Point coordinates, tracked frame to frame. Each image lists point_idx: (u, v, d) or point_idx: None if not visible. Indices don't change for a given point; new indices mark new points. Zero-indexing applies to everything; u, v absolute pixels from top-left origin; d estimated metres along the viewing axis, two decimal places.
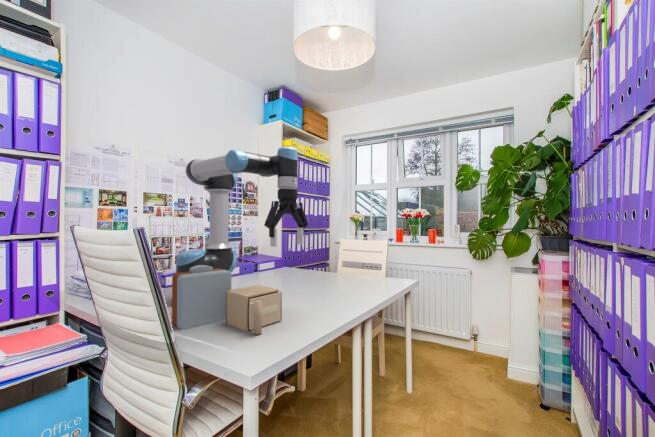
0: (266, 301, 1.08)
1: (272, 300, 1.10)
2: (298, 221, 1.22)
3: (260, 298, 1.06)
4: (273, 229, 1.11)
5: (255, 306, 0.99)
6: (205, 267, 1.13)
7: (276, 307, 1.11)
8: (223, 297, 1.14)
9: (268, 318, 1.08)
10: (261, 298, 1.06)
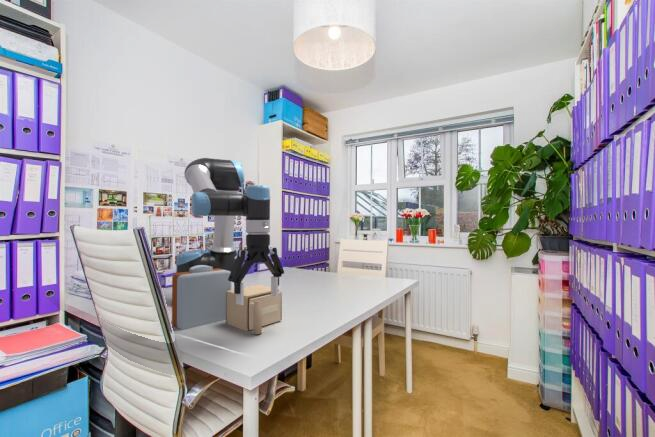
0: (266, 301, 1.08)
1: (272, 300, 1.10)
2: (272, 269, 1.04)
3: (260, 298, 1.06)
4: (239, 284, 0.94)
5: (255, 306, 0.99)
6: (205, 267, 1.13)
7: (276, 307, 1.11)
8: (223, 297, 1.14)
9: (268, 318, 1.08)
10: (261, 298, 1.06)
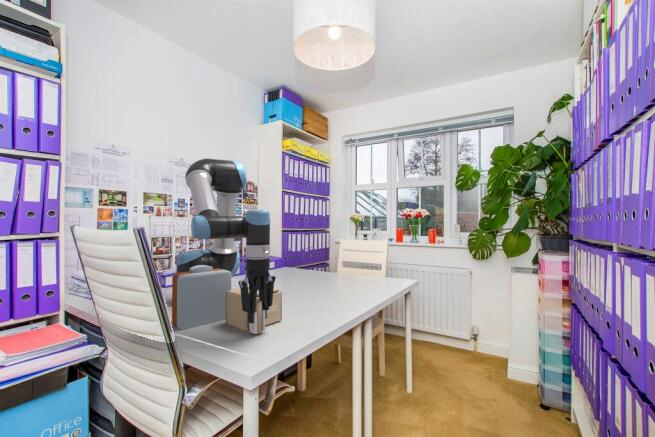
0: None
1: None
2: (262, 299, 1.01)
3: None
4: (252, 314, 0.98)
5: (255, 306, 0.99)
6: (205, 267, 1.13)
7: (276, 307, 1.11)
8: (223, 297, 1.14)
9: (268, 318, 1.08)
10: None
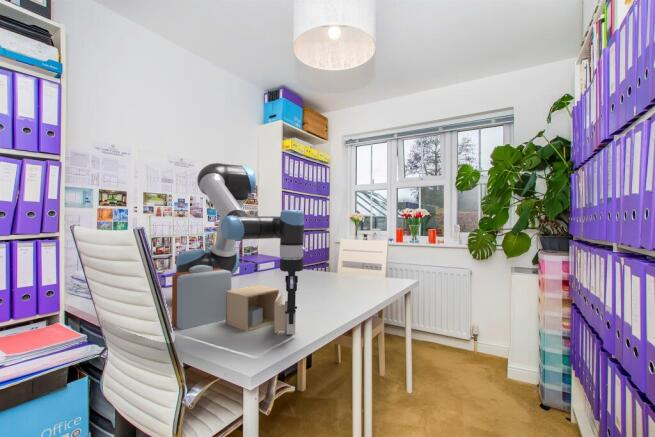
0: (279, 302, 1.06)
1: (280, 301, 1.09)
2: None
3: (278, 300, 1.04)
4: None
5: None
6: (205, 267, 1.13)
7: None
8: (223, 297, 1.14)
9: None
10: (278, 299, 1.04)
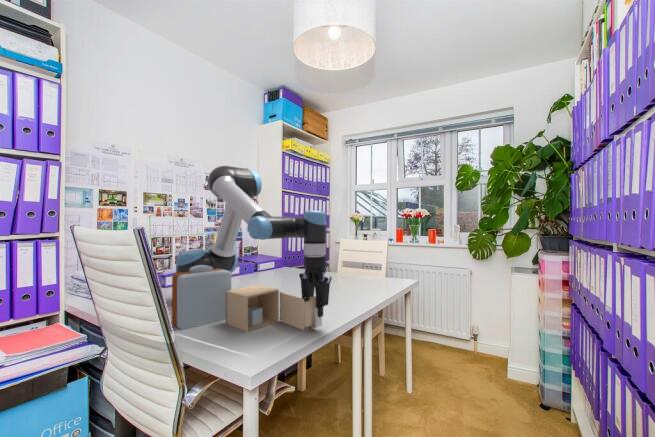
0: None
1: None
2: (312, 294, 1.08)
3: None
4: None
5: None
6: (205, 267, 1.13)
7: None
8: (223, 297, 1.14)
9: None
10: None
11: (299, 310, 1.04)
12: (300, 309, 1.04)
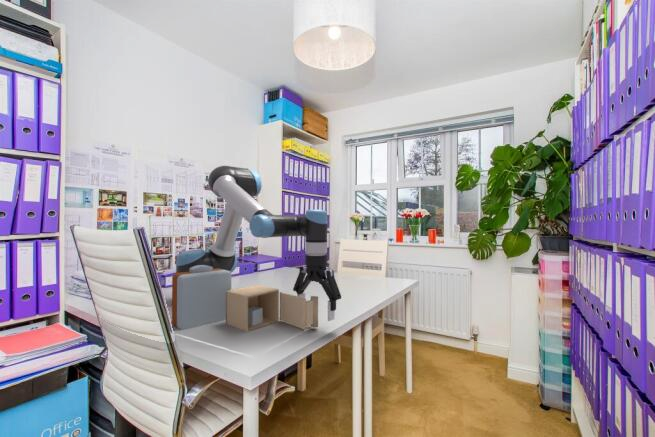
0: None
1: None
2: (305, 287, 1.12)
3: None
4: None
5: (317, 300, 1.06)
6: (205, 267, 1.13)
7: None
8: (223, 297, 1.14)
9: None
10: None
11: (301, 310, 1.04)
12: (302, 309, 1.04)
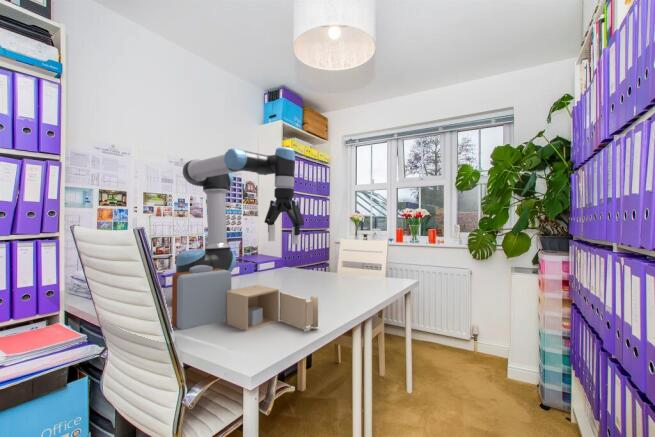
0: None
1: None
2: (275, 219, 1.26)
3: None
4: None
5: (317, 300, 1.06)
6: (205, 267, 1.13)
7: None
8: (223, 297, 1.14)
9: None
10: None
11: (301, 310, 1.04)
12: (302, 309, 1.04)
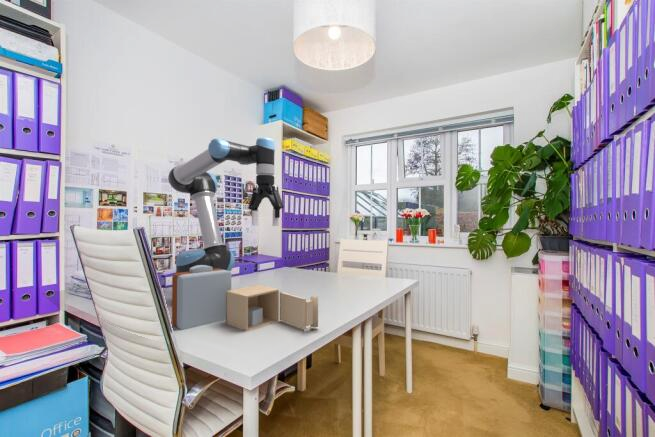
0: None
1: None
2: (257, 204, 1.35)
3: None
4: None
5: (317, 300, 1.06)
6: (205, 267, 1.13)
7: None
8: (223, 297, 1.14)
9: None
10: None
11: (301, 310, 1.04)
12: (302, 309, 1.04)
